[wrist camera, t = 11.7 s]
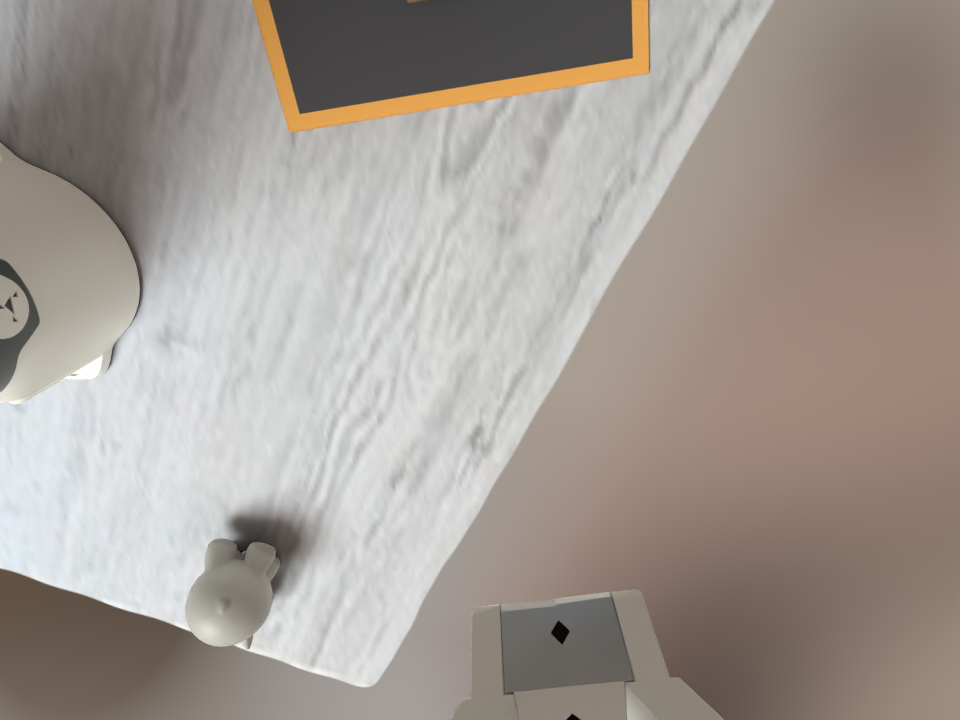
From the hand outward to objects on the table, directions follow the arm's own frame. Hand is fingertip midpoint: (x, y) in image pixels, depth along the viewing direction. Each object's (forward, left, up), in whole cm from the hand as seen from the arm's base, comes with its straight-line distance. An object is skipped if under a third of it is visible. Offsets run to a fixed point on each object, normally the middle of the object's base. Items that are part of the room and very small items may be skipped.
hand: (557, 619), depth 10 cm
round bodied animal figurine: (-29, -31, -33) cm, 54 cm away
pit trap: (-1, +12, -33) cm, 35 cm away
